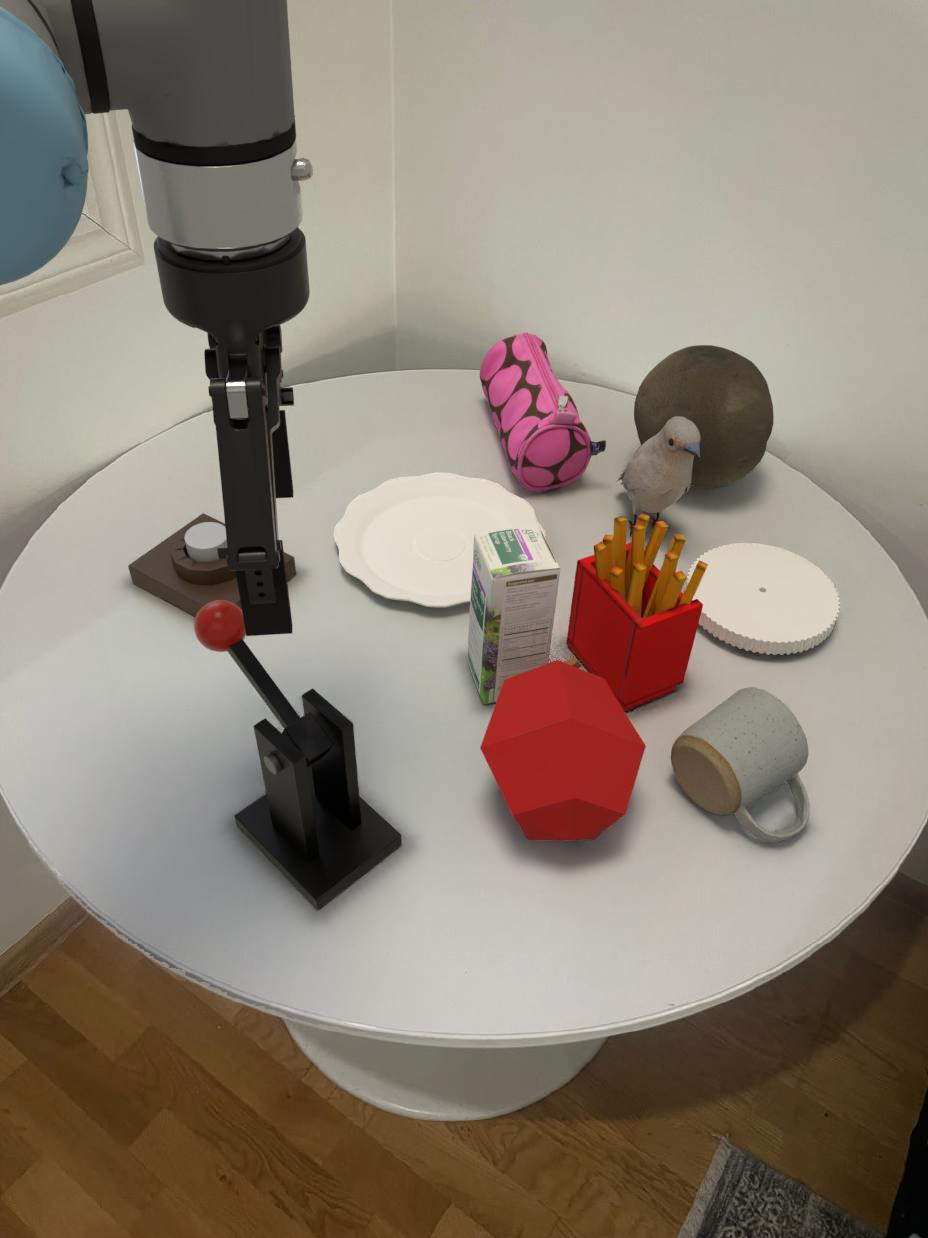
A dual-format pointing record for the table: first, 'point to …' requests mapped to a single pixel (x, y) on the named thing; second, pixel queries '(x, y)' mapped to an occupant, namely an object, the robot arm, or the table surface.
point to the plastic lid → (765, 598)
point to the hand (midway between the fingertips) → (271, 558)
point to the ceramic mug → (744, 759)
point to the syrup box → (510, 606)
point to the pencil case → (535, 415)
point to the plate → (424, 534)
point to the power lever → (258, 676)
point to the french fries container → (635, 613)
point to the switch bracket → (315, 810)
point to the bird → (662, 468)
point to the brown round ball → (710, 409)
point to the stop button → (205, 541)
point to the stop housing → (189, 573)
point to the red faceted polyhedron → (562, 752)
